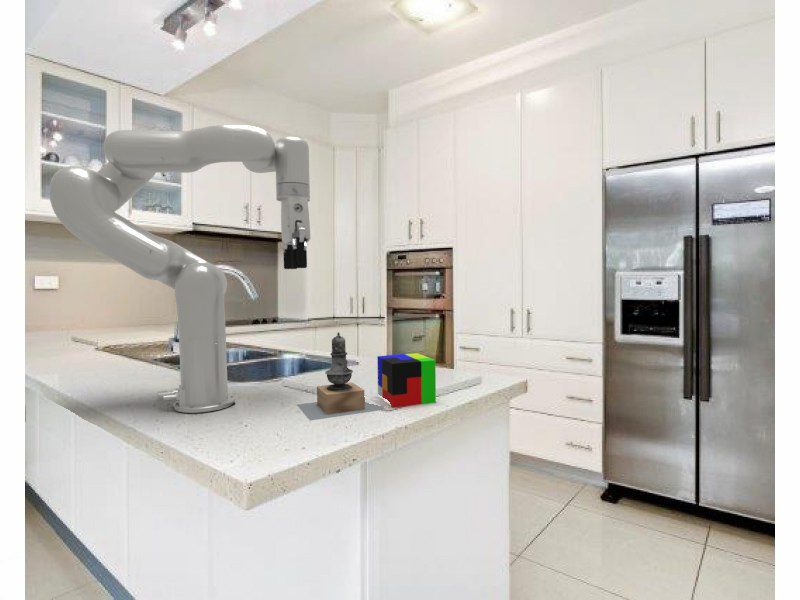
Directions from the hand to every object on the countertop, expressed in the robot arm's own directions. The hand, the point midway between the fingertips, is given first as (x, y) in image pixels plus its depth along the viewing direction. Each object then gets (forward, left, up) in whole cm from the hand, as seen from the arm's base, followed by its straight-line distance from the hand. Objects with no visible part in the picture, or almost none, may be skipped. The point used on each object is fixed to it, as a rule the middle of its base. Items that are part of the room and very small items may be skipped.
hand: (295, 268), depth 104 cm
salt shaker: (+6, -14, -26) cm, 30 cm away
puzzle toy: (+21, -15, -31) cm, 40 cm away
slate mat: (+6, -14, -30) cm, 34 cm away
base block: (+6, -14, -30) cm, 33 cm away
